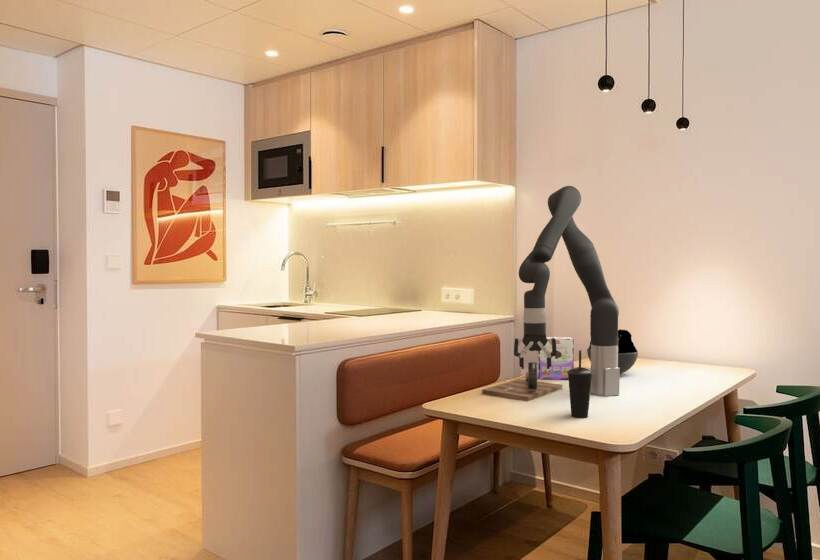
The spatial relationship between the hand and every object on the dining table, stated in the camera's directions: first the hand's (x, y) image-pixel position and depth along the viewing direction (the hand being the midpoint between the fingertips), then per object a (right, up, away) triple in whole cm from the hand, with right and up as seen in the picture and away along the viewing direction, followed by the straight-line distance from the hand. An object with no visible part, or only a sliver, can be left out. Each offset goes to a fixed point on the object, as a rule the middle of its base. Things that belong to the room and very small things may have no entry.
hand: (535, 368), depth 219 cm
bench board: (-2, -10, +11) cm, 15 cm away
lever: (+1, -8, +11) cm, 14 cm away
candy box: (+15, -9, +36) cm, 40 cm away
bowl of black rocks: (+40, -9, +45) cm, 61 cm away
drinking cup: (+9, -11, -25) cm, 28 cm away
